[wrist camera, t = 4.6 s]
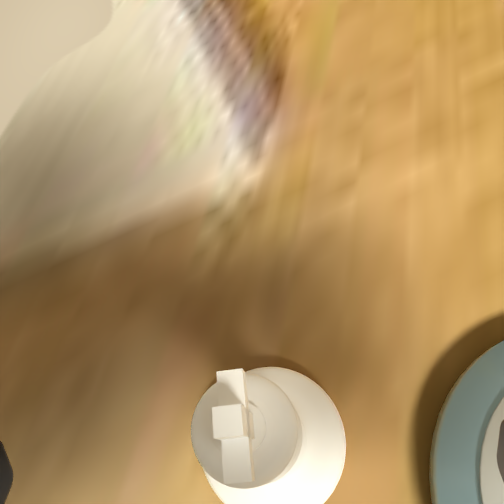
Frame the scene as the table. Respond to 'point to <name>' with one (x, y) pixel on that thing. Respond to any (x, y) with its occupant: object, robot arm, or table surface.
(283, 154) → the table surface
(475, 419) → the dish
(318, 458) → the chess piece
